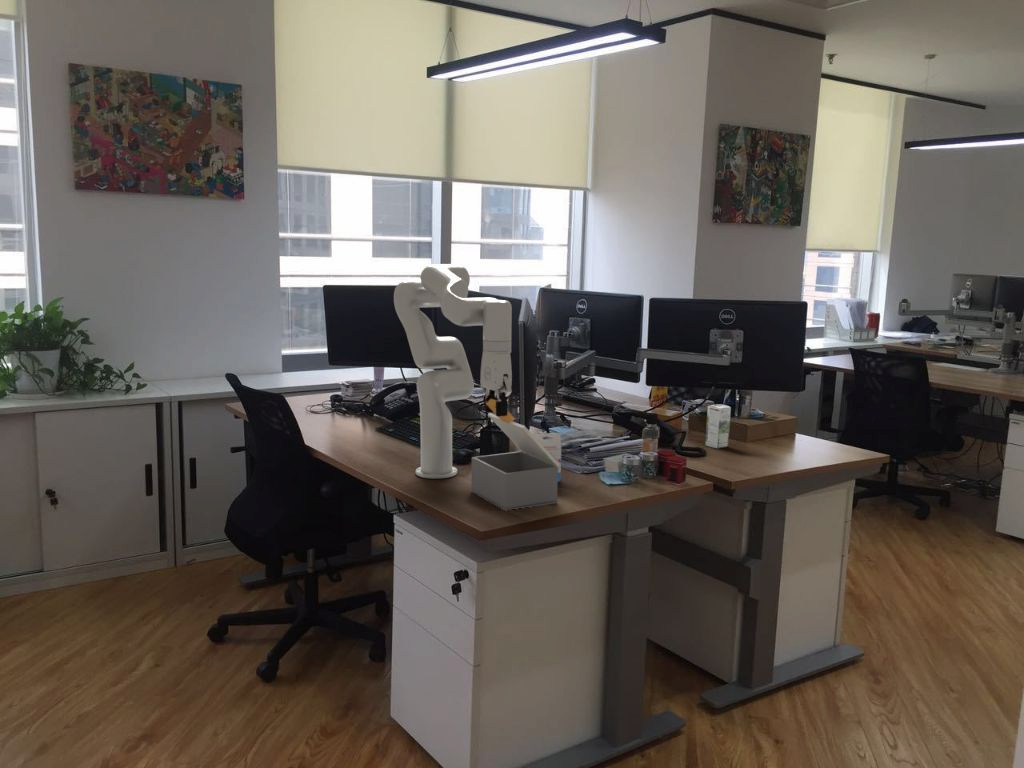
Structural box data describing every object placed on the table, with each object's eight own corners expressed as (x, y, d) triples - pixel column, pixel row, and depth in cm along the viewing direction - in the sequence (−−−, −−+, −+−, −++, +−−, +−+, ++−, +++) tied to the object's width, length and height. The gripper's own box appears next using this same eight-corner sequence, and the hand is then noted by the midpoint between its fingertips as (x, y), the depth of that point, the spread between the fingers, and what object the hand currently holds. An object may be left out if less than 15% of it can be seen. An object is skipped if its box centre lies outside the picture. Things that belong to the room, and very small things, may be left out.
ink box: (558, 477, 256) (559, 429, 254) (561, 482, 251) (561, 433, 249) (530, 478, 255) (531, 429, 253) (532, 482, 251) (533, 433, 248)
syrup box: (716, 443, 302) (718, 403, 300) (729, 447, 297) (731, 406, 295) (704, 445, 299) (706, 405, 297) (717, 449, 294) (719, 407, 292)
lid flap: (473, 399, 237) (478, 394, 237) (521, 450, 247) (525, 445, 247) (507, 411, 219) (512, 406, 220) (557, 466, 229) (562, 461, 230)
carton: (471, 491, 241) (471, 457, 239) (520, 484, 248) (521, 451, 247) (505, 511, 223) (505, 474, 222) (557, 502, 231) (557, 467, 229)
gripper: (470, 343, 232) (470, 409, 235) (499, 351, 217) (498, 421, 220) (494, 342, 235) (494, 407, 238) (525, 349, 221) (524, 418, 224)
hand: (496, 413), depth 229 cm, fingers closed on lid flap, 5 cm apart
